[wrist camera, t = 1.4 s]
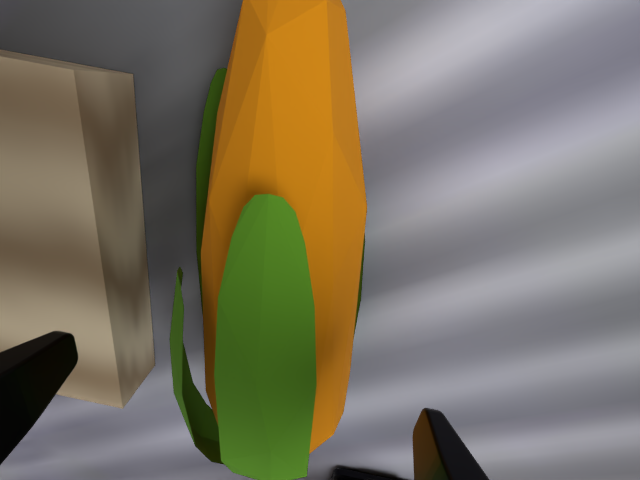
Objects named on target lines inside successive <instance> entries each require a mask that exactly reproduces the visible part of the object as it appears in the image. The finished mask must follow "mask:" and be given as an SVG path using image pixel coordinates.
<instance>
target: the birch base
mask: <svg viewBox="0 0 640 480" xmlns="http://www.w3.org/2000/svg"><path fill="white" fill-rule="evenodd" d="M52 331H62V332H67V333H71V334H72V335H73V336H74V338H75V342H76V347H77V352H78V362H77V364H76V366H75V368H74V369H73V371H72V372H71V374H70V375H69V376H68V378H67V379H66V381H65V382H64V383H63V385H62V386H61V388H60V389H59V390H58V392H57V393H56V394H57V395H62V396H67V397H71V398H76V399H81V400H85V401H90V402H95V403H99V404H104V405H109V406H113V407H118V408H124V406H125V405H126V404H127V402H128V401H129V400H130V398H131V397H132V396H133V394H134V393H135V391H136V390H137V389H138V387H139V386H140V385H141V383H142V382H143V381H144V379H145V378H146V377H147V375H148V374H149V373H150V371H151V370H152V369H153V367H154V366H155V357H154V344H153V331H152V318H151V304H150V291H149V278H148V265H147V252H146V238H145V225H144V212H143V199H142V185H141V172H140V159H139V146H138V132H137V119H136V106H135V93H134V79H133V74H130V73H125V72H119V71H114V70H108V69H103V68H98V67H92V66H87V65H81V64H76V63H71V62H65V61H60V60H54V59H49V58H44V57H38V56H33V55H27V54H22V53H16V52H11V51H6V50H0V352H2V351H4V350H7V349H9V348H12V347H14V346H17V345H19V344H22V343H24V342H27V341H29V340H32V339H35V338H37V337H40V336H42V335H45V334H47V333H50V332H52Z"/></svg>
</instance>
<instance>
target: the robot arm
mask: <svg viewBox="0 0 640 480" xmlns="http://www.w3.org/2000/svg"><path fill="white" fill-rule="evenodd" d="M77 362H78V352H77V347H76V342H75V338H74V336H73V335H72V334H71V333H67V332H62V331H52V332H50V333H47V334H45V335H42V336H40V337H37V338H35V339H32V340H29V341H27V342H24V343H22V344H19V345H17V346H14V347H12V348H9V349H7V350H4V351H2V352H0V465H1V463H2V462H3V461H4V460H5V459H6V458H7V456H8V455H9V454H10V453H11V452H12V450H13V449H14V448H15V447H16V446H17V444H18V443H19V442H20V441H21V440H22V439H23V437H24V436H25V435H26V434H27V432H28V431H29V430H30V429H31V428H32V426H33V425H34V424H35V422H36V421H37V420H38V418H39V417H40V416H41V414H42V413H43V412H44V410H45V409H46V407H47V406H48V404H49V403H50V402H51V400H52V399H53V397H54V396H55V395H56V393H57V392H58V390H59V389H60V388H61V386H62V385H63V383H64V382H65V381H66V379H67V378H68V376H69V375H70V374H71V372H72V371H73V369H74V368H75V366H76V364H77ZM413 459H414V480H489V479H488V477H487V476H486V474H485V473H484V471H483V470H482V469H481V467H480V466H479V464H478V463H477V462H476V460H475V459H474V457H473V456H472V454H471V453H470V452H469V450H468V449H467V447H466V446H465V444H464V443H463V442H462V440H461V439H460V437H459V436H458V434H457V433H456V432H455V430H454V429H453V427H452V426H451V425H450V423H449V422H448V420H447V419H446V417H445V416H444V415H443V413H442V412H440V411H438V410H434V409H429V408H424V409H423V410H422V411H421V414H420V416H419V418H418V420H417V423H416V425H415V427H414V431H413ZM331 480H393V479H389V478H384V477H379V476H375V475H370V474H365V473H361V472H356V471H352V470H347V469H342V468H338V469H336V470H335V471H334V473H333V476H332V479H331Z"/></svg>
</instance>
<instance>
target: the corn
mask: <svg viewBox="0 0 640 480" xmlns="http://www.w3.org/2000/svg"><path fill="white" fill-rule="evenodd" d="M366 213H367V203H366V193H365V184H364V175H363V166H362V157H361V148H360V139H359V130H358V121H357V112H356V103H355V93H354V84H353V75H352V66H351V57H350V48H349V39H348V30H347V21H346V12H345V9H344V7H343V5H342V3H341V1H340V0H243V2H242V6H241V11H240V15H239V20H238V24H237V28H236V33H235V37H234V42H233V46H232V51H231V55H230V59H229V64H228V68H227V69H226V68H221V69H218V70H217V71H216V74H215V76H214V78H213V80H212V82H211V85H210V89H209V93H208V97H207V101H206V105H205V109H204V115H203V122H202V129H201V136H200V143H199V150H198V157H197V164H196V247H197V261H198V271H199V282H200V292H201V302H202V313H203V328H204V355H205V383H206V393H207V396H208V398H209V401H210V404H211V407H212V409H211V408H210V407H209V406H208V405H207V404H206V403H205V401H204V399H203V398H202V396H201V395H200V393H199V391H198V390H197V388H196V387H195V385H194V383H193V381H192V377H191V373H190V369H189V364H188V360H187V356H186V352H185V348H184V344H183V318H184V305H183V299H182V292H181V285H182V277H183V272H182V270H181V267H179V269H178V270H177V277H176V286H175V295H174V304H173V313H172V323H171V332H170V351H171V364H172V376H173V389H174V394H175V397H176V399H177V402H178V405H179V407H180V410H181V412H182V415H183V417H184V420H185V422H186V425H187V427H188V429H189V432H190V434H191V437H192V439H193V442H194V444H195V446H196V447H197V448H198V449H199V450H200V451H201V452H202V453H203V454H204V455H205V456H206V457H207V458H208V459H209V460H210V461H211V462H215V463H220V464H224V465H226V466H227V467H228V468H229V469H230V470H231V471H232V472H233V473H237V474H240V475H243V476H246V477H250V478H253V479H256V480H292V479H297V478H302V477H307V469H308V460H309V454H310V453H311V452H312V451H314V450H315V449H316V448H317V447H318V446H320V445H321V444H322V443H323V442H325V441H326V440H327V439H328V438H330V437H331V436H332V435H333V434H334V432H335V430H336V427H337V425H338V423H339V421H340V418H341V416H342V414H343V411H344V405H345V399H346V393H347V387H348V381H349V375H350V367H351V357H352V348H353V339H354V333H355V328H356V322H357V317H358V312H359V306H360V301H361V290H362V275H363V261H364V246H365V233H364V232H365V223H366Z"/></svg>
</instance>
